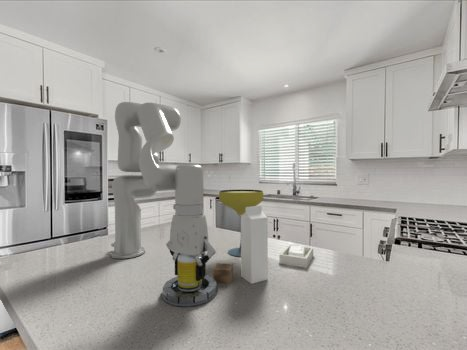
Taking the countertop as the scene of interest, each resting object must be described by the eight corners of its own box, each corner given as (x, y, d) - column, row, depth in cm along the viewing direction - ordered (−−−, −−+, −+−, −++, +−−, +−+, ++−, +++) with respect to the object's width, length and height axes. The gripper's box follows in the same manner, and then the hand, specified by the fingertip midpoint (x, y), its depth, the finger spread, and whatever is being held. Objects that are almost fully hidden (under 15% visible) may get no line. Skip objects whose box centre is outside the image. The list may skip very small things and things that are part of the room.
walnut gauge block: (213, 283, 71) (213, 269, 71) (217, 275, 76) (217, 263, 76) (230, 284, 70) (230, 270, 70) (232, 276, 75) (232, 264, 75)
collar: (150, 298, 62) (150, 290, 62) (186, 276, 75) (186, 270, 75) (196, 313, 55) (196, 304, 55) (227, 286, 68) (227, 279, 68)
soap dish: (279, 263, 86) (279, 254, 86) (289, 252, 98) (289, 244, 98) (306, 267, 82) (306, 258, 82) (313, 255, 93) (313, 247, 93)
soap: (290, 252, 95) (290, 245, 95) (304, 254, 94) (304, 246, 94) (288, 260, 87) (287, 252, 87) (303, 262, 85) (303, 253, 85)
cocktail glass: (238, 264, 85) (238, 193, 85) (210, 251, 100) (210, 190, 99) (273, 253, 97) (272, 191, 97) (243, 243, 111) (243, 188, 111)
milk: (268, 279, 73) (268, 206, 73) (251, 284, 70) (251, 208, 70) (256, 272, 78) (256, 204, 78) (240, 276, 75) (240, 205, 75)
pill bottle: (197, 294, 62) (196, 248, 62) (173, 291, 63) (173, 247, 63) (205, 282, 68) (204, 241, 68) (183, 280, 69) (183, 240, 69)
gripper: (155, 209, 66) (156, 275, 66) (208, 215, 58) (208, 289, 58) (174, 206, 73) (174, 265, 73) (224, 210, 65) (224, 277, 65)
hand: (189, 275), depth 65 cm, fingers closed on pill bottle, 6 cm apart
